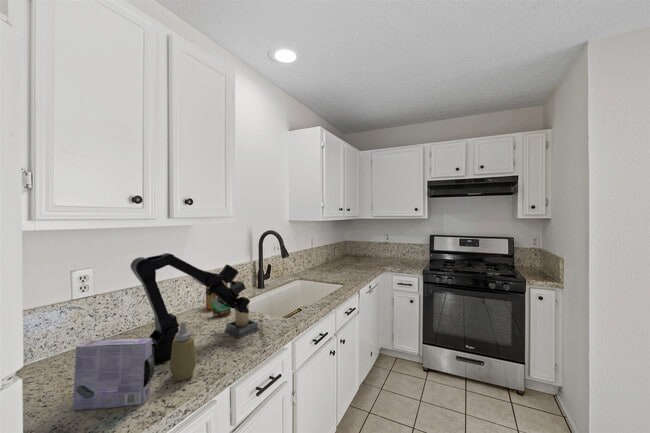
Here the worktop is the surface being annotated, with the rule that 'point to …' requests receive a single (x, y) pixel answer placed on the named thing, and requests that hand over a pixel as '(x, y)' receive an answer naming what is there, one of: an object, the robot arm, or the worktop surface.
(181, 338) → the squeeze bottle
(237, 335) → the dock
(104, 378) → the cake pan box
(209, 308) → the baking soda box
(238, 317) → the beige tapered cylinder
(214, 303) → the food container
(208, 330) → the worktop surface
